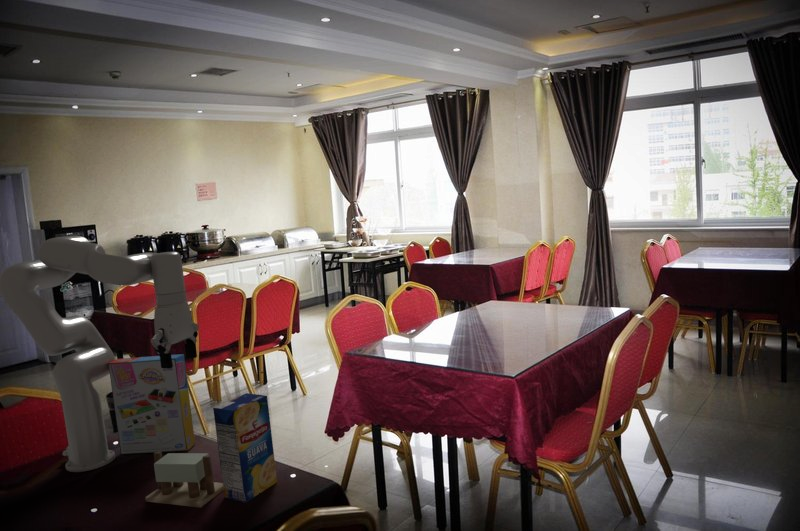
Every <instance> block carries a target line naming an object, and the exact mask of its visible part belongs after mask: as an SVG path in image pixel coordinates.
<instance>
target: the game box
mask: <svg viewBox="0 0 800 531" xmlns="http://www.w3.org/2000/svg"><path fill="white" fill-rule="evenodd" d="M171 357H172V365H173V367H172V368H161V362H160V355H154V356H153V355H152V356H150V355H149V356H139V357H138V356H137V357H127V358H116V359H115V360H114V361H112V362H109V363H108V365H109V372H110V374H109V378H110V385H111V391H112V400H113V405H114V413H115V421H116V427H117V435H118V436H117V437H118V443H119V452H120V455H126V454H127V455H128V454H149V453H151V454H154V453H155V452H159V451H161V452H162V453H165V452H166V453H167V452H168V453H169V452H179V451H181V452H185V451H189V450H190V449H192V448H193V447H194V445H195V444H196V440H195V432H194V431H195V430H194V423H193V417H192V409H191V407H192V406H191V399H190V393H189V384H188V376H187V375H188V374H187V368H186V360H185V354H184V353H183V354H180V353H179V354H171Z"/></svg>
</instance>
